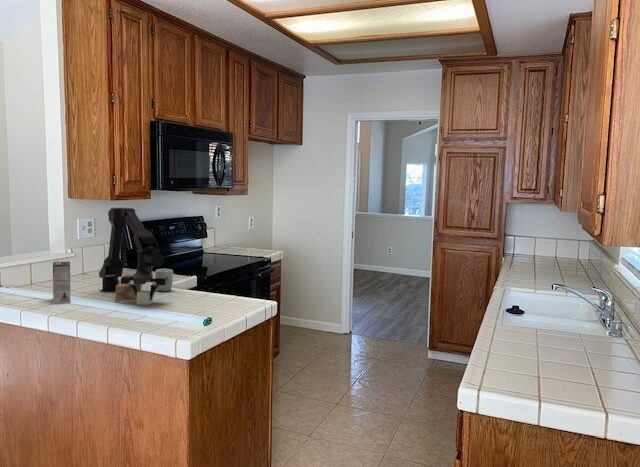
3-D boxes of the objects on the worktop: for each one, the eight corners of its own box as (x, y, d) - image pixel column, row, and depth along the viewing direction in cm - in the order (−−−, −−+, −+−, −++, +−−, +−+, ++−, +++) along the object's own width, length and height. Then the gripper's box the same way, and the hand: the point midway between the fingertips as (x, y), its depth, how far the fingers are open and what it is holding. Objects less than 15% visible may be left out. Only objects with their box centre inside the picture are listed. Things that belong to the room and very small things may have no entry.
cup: (167, 293, 227) (167, 272, 226) (152, 291, 228) (152, 270, 227) (175, 290, 235) (175, 269, 234) (160, 288, 236) (161, 268, 235)
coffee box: (52, 299, 207) (52, 261, 206) (69, 297, 210) (69, 261, 209) (53, 304, 199) (52, 265, 198) (70, 302, 202) (70, 264, 201)
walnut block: (115, 299, 211) (115, 286, 211) (121, 295, 220) (121, 282, 220) (137, 300, 213) (137, 286, 212) (141, 295, 221) (141, 282, 221)
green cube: (136, 304, 205) (136, 292, 205) (140, 301, 210) (140, 289, 210) (148, 304, 205) (148, 292, 205) (152, 301, 210) (152, 290, 210)
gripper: (115, 266, 198) (115, 303, 199) (161, 267, 198) (161, 305, 200) (125, 261, 209) (125, 297, 210) (169, 263, 209) (168, 299, 211)
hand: (144, 300), depth 207 cm, fingers closed on green cube, 5 cm apart
